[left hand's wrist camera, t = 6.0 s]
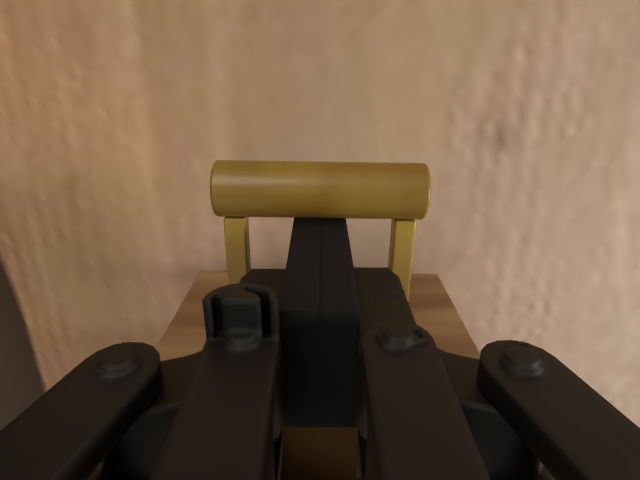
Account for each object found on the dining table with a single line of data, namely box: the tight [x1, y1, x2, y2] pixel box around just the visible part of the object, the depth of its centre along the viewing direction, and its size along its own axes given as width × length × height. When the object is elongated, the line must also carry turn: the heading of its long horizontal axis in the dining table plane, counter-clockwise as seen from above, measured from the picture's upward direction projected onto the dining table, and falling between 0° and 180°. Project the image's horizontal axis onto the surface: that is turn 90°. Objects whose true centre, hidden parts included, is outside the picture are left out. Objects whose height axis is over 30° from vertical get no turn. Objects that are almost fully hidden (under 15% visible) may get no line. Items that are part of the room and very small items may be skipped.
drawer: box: [156, 160, 480, 480], centre depth 17 cm, size 22×10×7 cm, turn 179°
